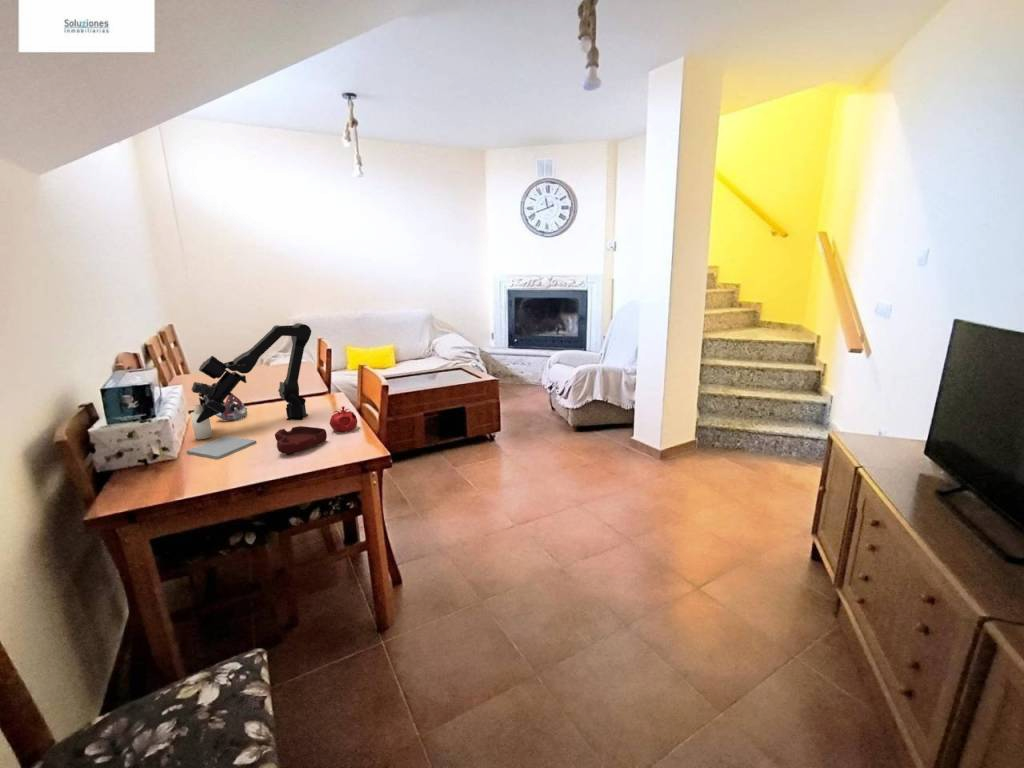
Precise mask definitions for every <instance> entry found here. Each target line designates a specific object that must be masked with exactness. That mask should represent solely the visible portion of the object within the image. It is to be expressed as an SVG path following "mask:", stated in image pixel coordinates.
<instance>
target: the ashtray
mask: <svg viewBox="0 0 1024 768" xmlns="http://www.w3.org/2000/svg"><path fill="white" fill-rule="evenodd" d="M327 434H328V433H327V431H326V429H325V428H320V427H314V426H313V427H311V426H303V425H302V426H301V425H300V426H299V425H298V426H294V427H292V428H291V429H290V430H287V431H286V429H285V428H282V429H281V428H280V429H279V430H277V431H276V432H275V434H274V438H275V440H276V448H277V450H278V452H279V453H280V454H283V455H285V456H288V457H289V456H293V455H295V454H299V453H302V452H304V451H307V450H309V449H312V448H314V447H316V446H319V445H321V444H324V443H325V442H326V441H327V438H328V435H327Z"/></svg>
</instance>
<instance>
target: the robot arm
mask: <svg viewBox="0 0 1024 768" xmlns="http://www.w3.org/2000/svg"><path fill="white" fill-rule="evenodd" d="M311 335H312V329H311V327H310V326H309V325H308V324H304V323H301V322H298V323H295V324H293V325H289V324H288V325H279V324H278V325H274V326H273V327H272V328H271V329H270V330H269V331H268V332H267V333H266V334H265V335H264V336H263V337H262V338H260V340H258V341H257V342H256V343H255V344H254V345H253V346H252V347H251V348H250V349H248V350H247V351H244V352H242V353H241V354H239V355H238V356H237V357H235V358H234V359H233V360H231V361H227V362H224V363H223V362H222V361H221V360H219V359H217V357H215V356H213V355H211V356H210V357H209V358H207V359H206V360H205V361H203V362H202V364H201V365H200V366H199V368H198V371H199V372H201V373H202V374H205V375H206V376H208V377H210V378H211V379H213V380H216V379H219V380H217V382H213V383H212V384H211V385H210V384H207V383H203V382H199V381H198V382H197V381H194V382H193V383H192V387H191V392H192V393H195V394H198V395H197V396H198V400H199V405H202V406H203V410H202V412H201V414H200V415H199V417H198V419H197V421H196V422H197V423H200V422H202V421H204V420H206V419H208V418H209V419H210V418H212V417H213V416H216V414H219V413H222V414H223V413H224V411H225V410H226V408H225V405H224V404H223V403H224V402H225V401H226V400H227V397H228V395H231V394H233V393H232V392H233V390H234V389H235V388H236V386H237V385H238V384H239V383H240V382H243V383H244V384H247V379H246V378H247V377H246V376H247V375H244V374H248V373H250V372H251V371H253V368H254V367H255V366H256V364H257V363H258V360H259V359H260V358H261V356H263V355H264V354H265V353H266V352H267V351H268V350H269V349H270V348H271V347H272V346H273V345H274V344H275V343H276V342H277V341H278V340H279V339H281V337H291V342H292V346H291V349H290V350H291V352H290V356H289V362H288V367H287V373H286V376H285V379H284V381H283V382H282V381H280V382H279V387H278V390H277V392H279V397H280V398H281V399H282V400H284V401H285V402H286V403H287V404H286V408H285V410H286V416H287V417H286V421H301V420H304V419H305V418H306V417H307V416H309V413H307V409H306V398H304V397H303V396H301V395H300V387H299V386H300V385H299V376H300V371H301V365H302V363H303V362H302V361H303V356H304V351H305V347H306V345H307V343H308V342H309V340H310V338H311ZM227 369H228V370H227ZM239 373H240V374H239ZM242 374H243V375H242Z"/></svg>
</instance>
